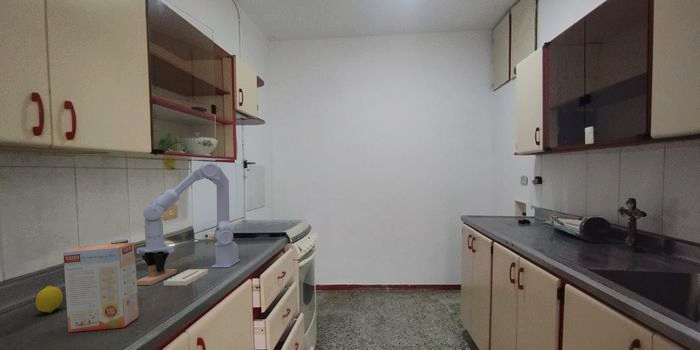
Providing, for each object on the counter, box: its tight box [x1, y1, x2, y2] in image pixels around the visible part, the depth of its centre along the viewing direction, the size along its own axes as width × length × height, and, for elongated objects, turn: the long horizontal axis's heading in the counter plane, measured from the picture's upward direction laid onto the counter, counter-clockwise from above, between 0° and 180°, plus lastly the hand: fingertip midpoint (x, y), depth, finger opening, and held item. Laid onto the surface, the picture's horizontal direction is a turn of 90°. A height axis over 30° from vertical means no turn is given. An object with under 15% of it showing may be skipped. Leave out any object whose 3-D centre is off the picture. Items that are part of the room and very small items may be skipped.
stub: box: [137, 264, 177, 286], centre depth 108 cm, size 12×6×6 cm, turn 172°
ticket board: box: [163, 268, 209, 286], centre depth 106 cm, size 12×9×2 cm
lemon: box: [35, 285, 64, 314], centre depth 84 cm, size 6×6×8 cm
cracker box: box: [62, 242, 140, 333], centre depth 74 cm, size 14×6×21 cm, turn 92°
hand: (156, 271), depth 108 cm, fingers closed on stub, 2 cm apart
